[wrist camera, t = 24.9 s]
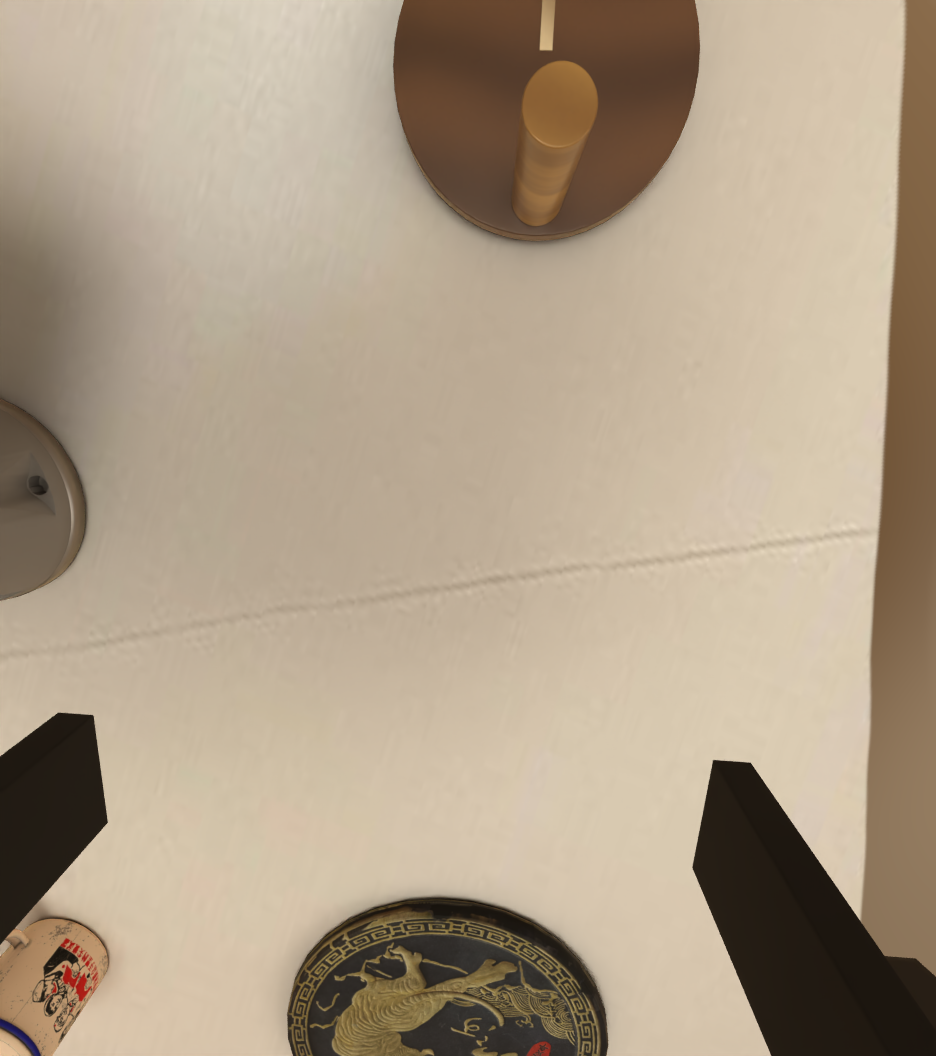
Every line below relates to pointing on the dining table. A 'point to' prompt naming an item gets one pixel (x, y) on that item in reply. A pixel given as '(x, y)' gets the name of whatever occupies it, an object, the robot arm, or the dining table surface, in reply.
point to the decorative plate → (444, 988)
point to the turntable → (544, 105)
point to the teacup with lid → (46, 984)
